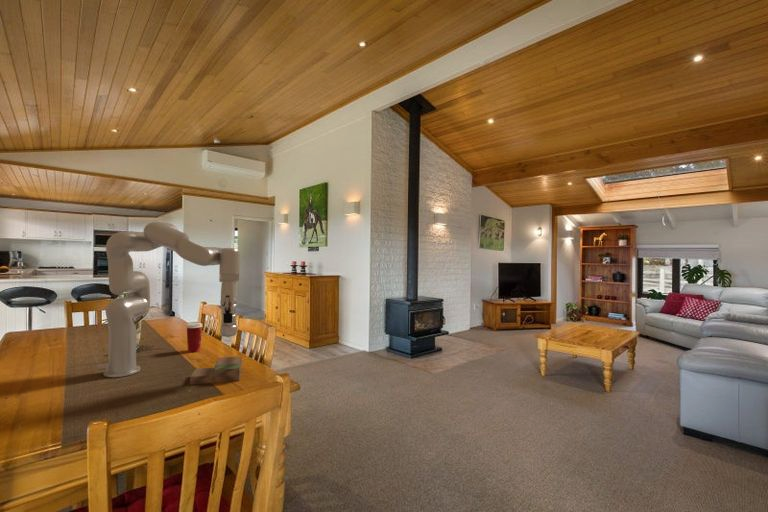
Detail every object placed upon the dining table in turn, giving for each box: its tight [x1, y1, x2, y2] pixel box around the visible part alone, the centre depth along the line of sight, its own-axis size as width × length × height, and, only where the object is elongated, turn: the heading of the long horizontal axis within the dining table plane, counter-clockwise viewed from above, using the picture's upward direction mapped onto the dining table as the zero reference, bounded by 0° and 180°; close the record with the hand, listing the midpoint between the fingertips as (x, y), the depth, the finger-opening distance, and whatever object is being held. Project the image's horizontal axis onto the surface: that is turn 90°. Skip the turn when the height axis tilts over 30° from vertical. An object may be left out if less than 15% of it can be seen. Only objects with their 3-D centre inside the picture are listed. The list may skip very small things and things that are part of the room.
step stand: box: [189, 356, 243, 386], centre depth 148 cm, size 18×10×7 cm, turn 107°
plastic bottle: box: [219, 297, 238, 338], centre depth 149 cm, size 6×7×20 cm
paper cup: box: [185, 322, 203, 353], centre depth 186 cm, size 8×8×14 cm
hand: (228, 321), depth 149 cm, fingers closed on plastic bottle, 5 cm apart
